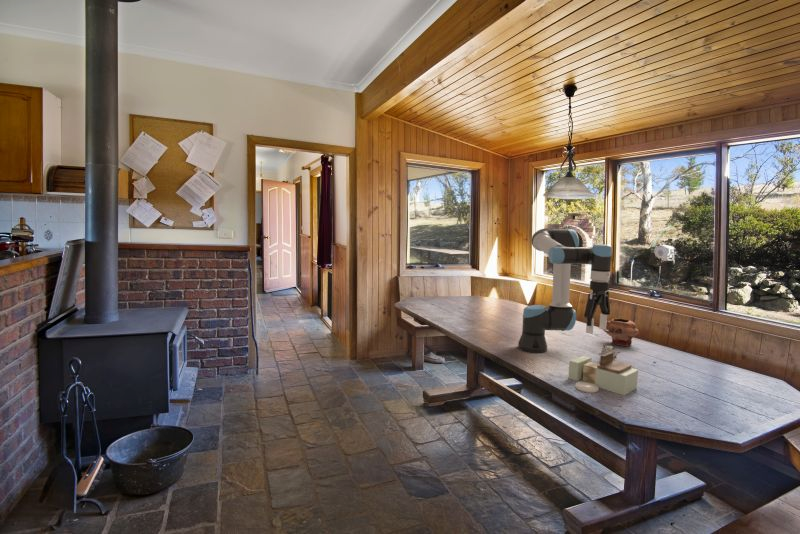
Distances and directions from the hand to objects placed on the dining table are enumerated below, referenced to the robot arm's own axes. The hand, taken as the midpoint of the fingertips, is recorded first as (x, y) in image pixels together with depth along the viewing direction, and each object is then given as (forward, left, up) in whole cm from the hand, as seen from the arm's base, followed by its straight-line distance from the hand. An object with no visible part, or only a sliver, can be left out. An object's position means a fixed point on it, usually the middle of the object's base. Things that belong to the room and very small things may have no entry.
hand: (596, 331), depth 193 cm
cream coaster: (+3, -11, -22) cm, 25 cm away
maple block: (0, 0, -22) cm, 22 cm away
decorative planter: (-19, +69, -22) cm, 75 cm away
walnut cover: (+9, 0, -14) cm, 16 cm away
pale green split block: (+4, 0, -22) cm, 22 cm away
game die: (-8, +33, -22) cm, 41 cm away
